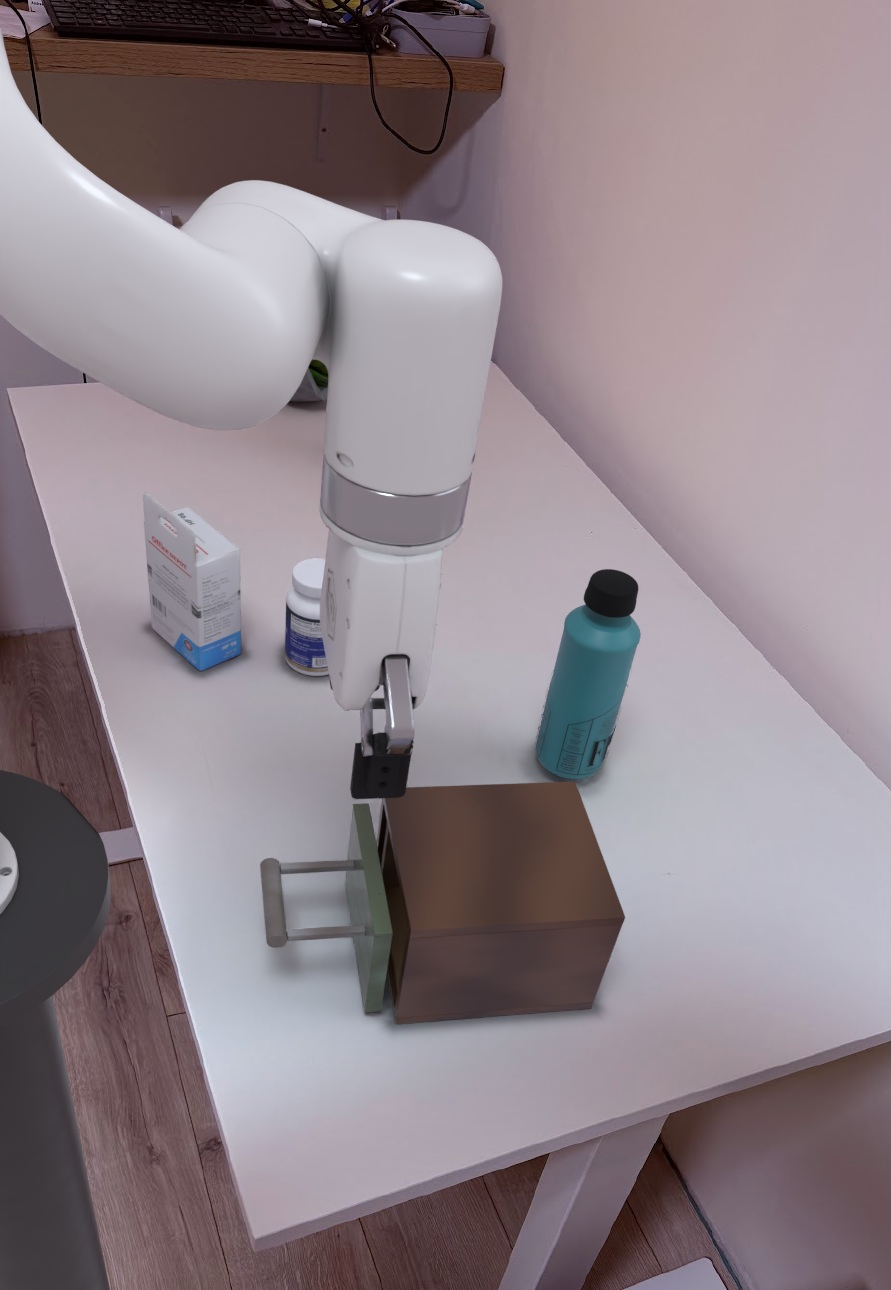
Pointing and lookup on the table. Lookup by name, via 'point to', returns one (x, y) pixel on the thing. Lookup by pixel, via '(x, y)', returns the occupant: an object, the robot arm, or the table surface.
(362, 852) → the drawer
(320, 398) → the potted plant
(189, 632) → the ink box
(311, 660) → the pill bottle
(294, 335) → the robot arm
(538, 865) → the cabinet
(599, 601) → the beverage bottle
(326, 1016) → the table surface
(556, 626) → the table surface
